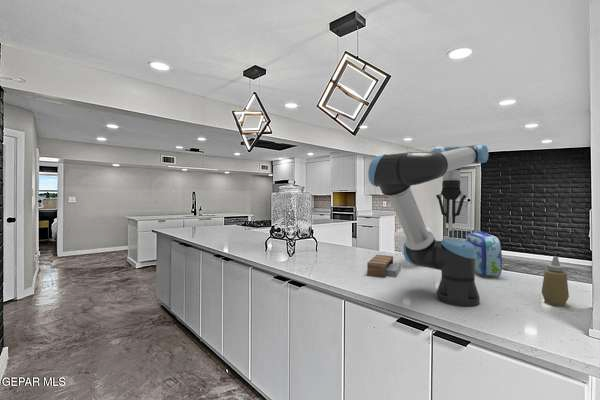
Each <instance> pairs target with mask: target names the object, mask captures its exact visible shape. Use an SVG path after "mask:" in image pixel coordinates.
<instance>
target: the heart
mask: <svg viewBox="0 0 600 400" xmlns="http://www.w3.org/2000/svg"><path fill="white" fill-rule="evenodd" d="M426 229H427V231H429V232H431V233H432V234H433V236H434V237H435V234H434V231H433V230H432V229H431V228H430V227H429V226H426ZM406 238H407V237H406V235H405V233H404V231H403V228H402V227H401V228H399V229H397V230H396V232H395V234H394V243H395V244H394V245H396V247H397V249H398V250H399V251H400V253H402V255H404V253H403V252H404V249H403V246H404V243H405V240H406Z"/></svg>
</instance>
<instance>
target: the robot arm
mask: <svg viewBox="0 0 600 400" xmlns="http://www.w3.org/2000/svg"><path fill="white" fill-rule="evenodd" d="M488 160H489V149H488V146H487V145H486V144H476V145H466V146H457V145H450V146H445V147H434V148H433V149H431V151H409V152H401V153H392V154H386V153H385V154H382V155H377V156H375V157H373V159H371V162H370V163H369V166H368V171H367V173H368V174H367V175H368V180H369V184H371V185H372V186H375V187H376V188H377V187H379V189H380V191H381V193H382V194H383V196H387V197H388V199H389V201H390V204H391V206H392V209H393V210H394V212H395V216H397V219H398V222H399V224H400V226H401V228H403V231H404V233H405V235H406V237H407V238H406V237H405V239H406V240H404V242H405V243H404V244H403V245H404V246H403V249H404V252H403V253H404V254H403V253H402V254H403V257H404V259H405V260H406V261H407V263H408V264H411V265H414V266H417V267H422V268H427V269H433V270H439V271H441V278H440V281H439V283H438V287H437V290H436V299H437V300H439V301H441V302H442V303H445V304H448V305H453V306H457V307H458V306H459V307H475V306H478V305H480V300H481V299H480V294H479V291H478V288H477V285H476V282H475V279H476V277H475V276H476V272H475V257H476V256H475V247H474V246H473V244H471V243H469V242H467V241H466V240H463V239H458V238H451V237H445V238H444V237H443V238H442V240H436V239H435V235H434V236H433V234H432V233H431V232H429V231H430V230H429V231H427V229H428V228H427V229H426V227H427V226H426V225H425V221H424V219H423V217H422V215H421V211H420V209H419V206H418V205H417V202H416V200H415V196H414V193H413V192H412V190H411V189H412V188H411V187H412V186H416V185H417V186H418V185H421V184H424V183H428V182H431V181H433V180H436V179H439V178H441V177H442V182H441V183H442V184H441V192H440V193H439V194H436V195H435V197H436V198H437V199H438V203H439V208H440V211H441V215H442V216H445V223H446V224H448V225H447V231H448V232H452V231H453V225H454V224H455V223H456V217H458V216H460V215H461V211H462V208H463V203H464V201H465V200H466V198H467V195H466V194H463V193H462V191H461V180H460V179H461V169H462V168H464V167H467V166H470V165H473V164H474V165H476V164H478V165H479V164H483V163H487V161H488ZM442 198H444V200H445V209H444V205H443V201H442ZM458 198H460V200H459V203H458V206H457V208H456V203H457V202H456V200H457V199H458ZM450 200H451V216H450ZM456 209H457V211H456ZM404 233H403V234H404Z"/></svg>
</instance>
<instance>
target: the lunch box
mask: <svg viewBox="0 0 600 400" xmlns="http://www.w3.org/2000/svg"><path fill="white" fill-rule="evenodd" d="M465 241H467V242H469V243H471V244H473V246H474V247H475V256H476V257H475V274H478V275H480V276H482V277H500V276H501V274H502V270H503V267H502V266H503V265H502V263H503V261H502V258H503V257H502V255H503V253H502V247H501V246H502V245H501V241H500V239H499V237H498V236H495V235H492V234H489V233H487V232H483V231H481V230H480V231H476V232H469V233H467V235H466V239H465Z"/></svg>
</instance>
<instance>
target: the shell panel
mask: <svg viewBox="0 0 600 400" xmlns="http://www.w3.org/2000/svg"><path fill="white" fill-rule="evenodd" d="M401 268H402V265H401V264H398V263H397V264H395V263H393V264H387V266H386V277H391V278H397V277H398V275H399V274H400V272H401V270H402V269H401Z"/></svg>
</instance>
